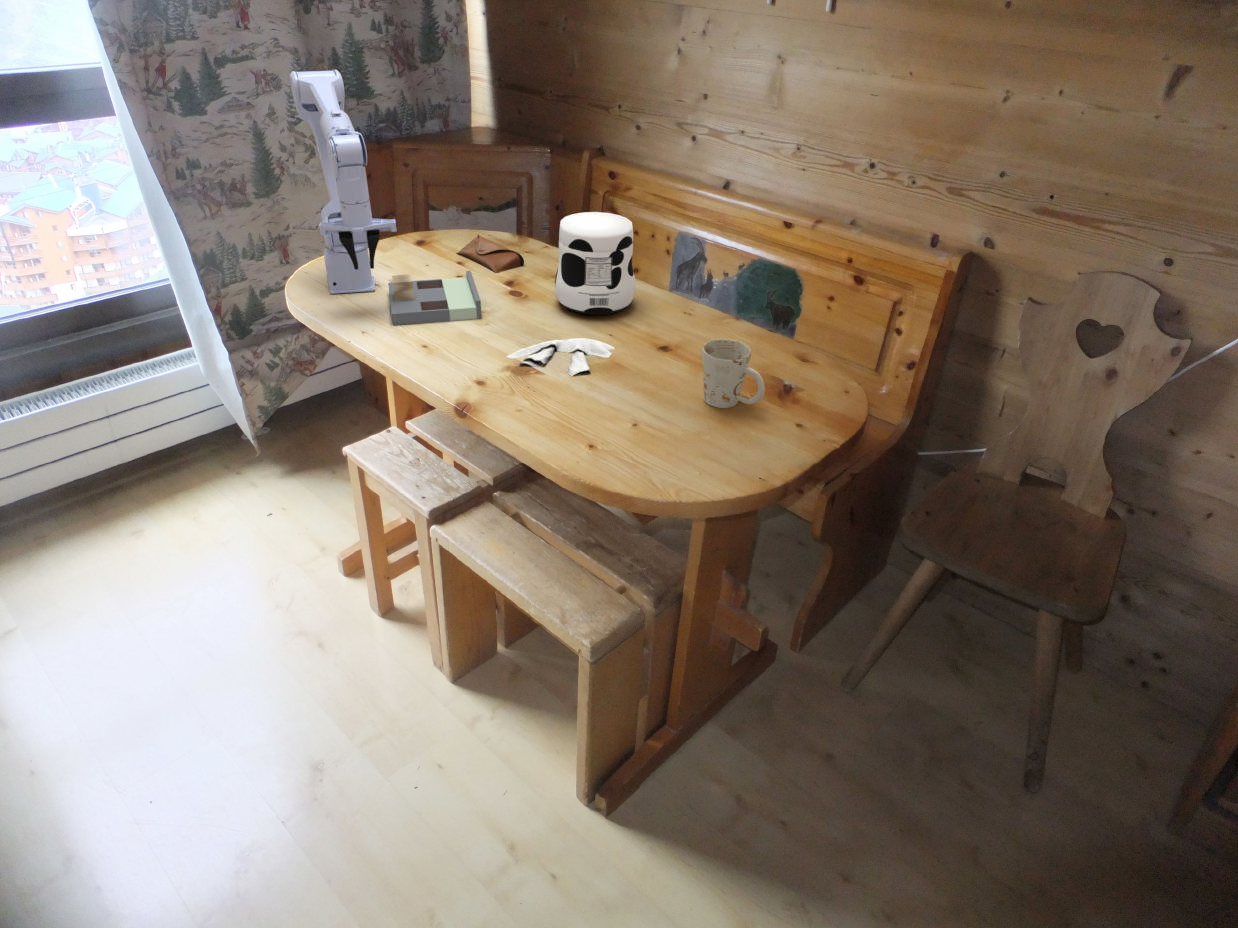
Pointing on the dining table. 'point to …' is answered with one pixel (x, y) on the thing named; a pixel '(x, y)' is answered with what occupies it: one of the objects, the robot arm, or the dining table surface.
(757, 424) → the dining table surface
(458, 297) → the trap board
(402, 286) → the beech block
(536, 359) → the cloth
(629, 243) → the milk container
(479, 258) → the sunglasses case
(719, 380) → the mug
